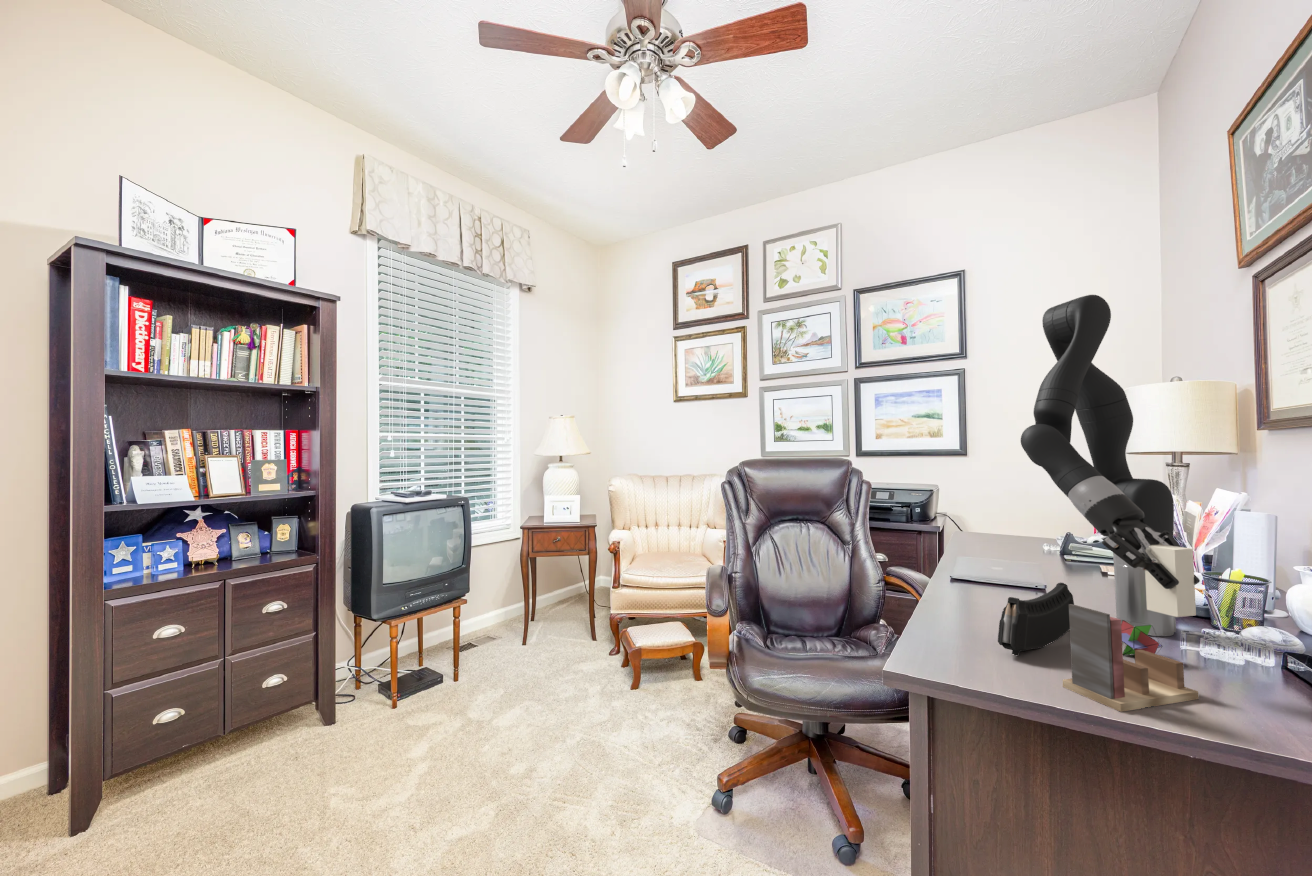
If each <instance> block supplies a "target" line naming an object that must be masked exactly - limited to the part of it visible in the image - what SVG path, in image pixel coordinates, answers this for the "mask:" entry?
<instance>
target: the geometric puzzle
mask: <svg viewBox="0 0 1312 876" xmlns="http://www.w3.org/2000/svg"><path fill="white" fill-rule="evenodd" d="M1137 623H1138V622H1137ZM1143 624H1144V623H1143ZM1151 626H1152V624H1151V625H1150V624H1149V625H1144V626H1133V625H1132V624H1131V623H1129V622H1127V620H1126V621H1124V620H1123V621H1122V622H1121V630H1122V644H1123V643H1124V644H1125V645H1126V646H1125V648H1124V651H1123V657H1124V656H1127V657H1130V656H1128V655H1130V654H1131V655H1135V650H1144V651H1148V652H1151V653H1154V654H1157V653H1159V652H1160V650H1158V649H1159V648H1160V649H1162V647H1164V645H1163V644H1162V643H1161V642H1160V640H1155V639H1154V638H1153V637H1151V636H1150V635H1148V633H1149V630H1150V628H1151ZM1152 627H1153V626H1152ZM1154 632H1155V631H1154ZM1155 637H1156V638H1158V636H1155ZM1157 650H1158V651H1157ZM1132 658H1134V659H1135V656H1134V657H1133V656H1132Z"/></svg>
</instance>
